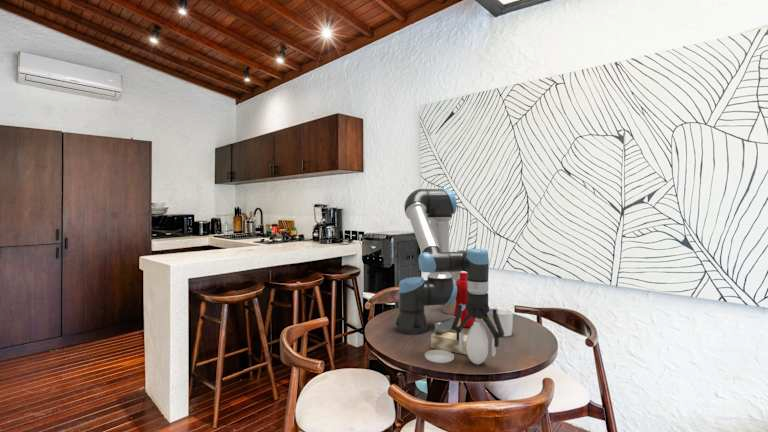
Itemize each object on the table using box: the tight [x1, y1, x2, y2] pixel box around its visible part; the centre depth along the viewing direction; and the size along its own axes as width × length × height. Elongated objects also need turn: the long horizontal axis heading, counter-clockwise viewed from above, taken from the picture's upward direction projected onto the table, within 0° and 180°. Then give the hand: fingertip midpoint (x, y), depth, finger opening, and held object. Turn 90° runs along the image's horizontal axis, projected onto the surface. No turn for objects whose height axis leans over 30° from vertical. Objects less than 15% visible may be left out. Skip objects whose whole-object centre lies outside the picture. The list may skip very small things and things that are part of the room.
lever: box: [434, 315, 461, 334], centre depth 154 cm, size 14×4×4 cm, turn 131°
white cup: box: [494, 308, 514, 337], centre depth 165 cm, size 8×8×10 cm
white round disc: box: [424, 349, 455, 364], centre depth 140 cm, size 11×11×1 cm
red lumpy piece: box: [453, 271, 476, 328], centre depth 178 cm, size 9×11×25 cm
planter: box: [441, 271, 462, 315], centre depth 198 cm, size 10×10×23 cm
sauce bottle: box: [466, 318, 489, 365], centre depth 134 cm, size 8×8×18 cm
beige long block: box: [430, 331, 468, 356], centre depth 147 cm, size 20×7×8 cm, turn 62°
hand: (477, 352), depth 134 cm, fingers open, 11 cm apart
